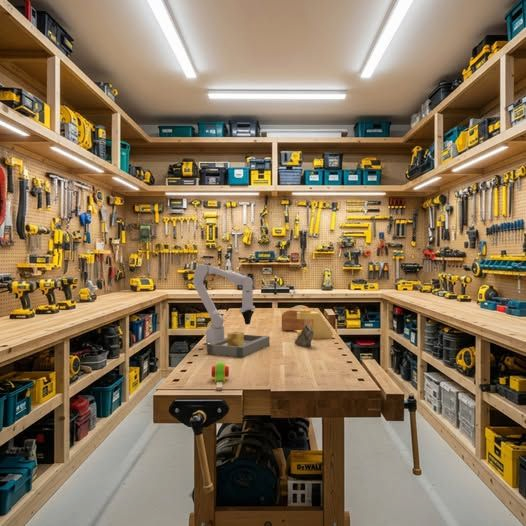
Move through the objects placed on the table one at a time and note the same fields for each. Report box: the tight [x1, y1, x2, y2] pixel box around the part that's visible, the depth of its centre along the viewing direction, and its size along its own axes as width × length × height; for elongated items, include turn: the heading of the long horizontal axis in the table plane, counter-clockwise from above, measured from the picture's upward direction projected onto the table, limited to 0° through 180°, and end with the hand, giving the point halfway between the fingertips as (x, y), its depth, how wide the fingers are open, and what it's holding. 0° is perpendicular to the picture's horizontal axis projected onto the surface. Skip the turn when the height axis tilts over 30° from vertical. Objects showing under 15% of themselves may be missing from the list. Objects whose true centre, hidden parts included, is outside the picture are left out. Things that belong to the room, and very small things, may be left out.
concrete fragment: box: [294, 325, 314, 348], centre depth 211 cm, size 6×19×11 cm, turn 29°
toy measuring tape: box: [211, 361, 230, 391], centre depth 145 cm, size 6×19×7 cm, turn 4°
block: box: [226, 330, 245, 346], centre depth 197 cm, size 6×6×6 cm
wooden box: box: [281, 304, 313, 330], centre depth 269 cm, size 30×16×14 cm, turn 164°
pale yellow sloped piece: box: [296, 308, 334, 339], centre depth 235 cm, size 20×9×16 cm, turn 93°
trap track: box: [206, 334, 270, 358], centre depth 201 cm, size 19×31×4 cm, turn 155°
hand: (247, 324), depth 215 cm, fingers closed
